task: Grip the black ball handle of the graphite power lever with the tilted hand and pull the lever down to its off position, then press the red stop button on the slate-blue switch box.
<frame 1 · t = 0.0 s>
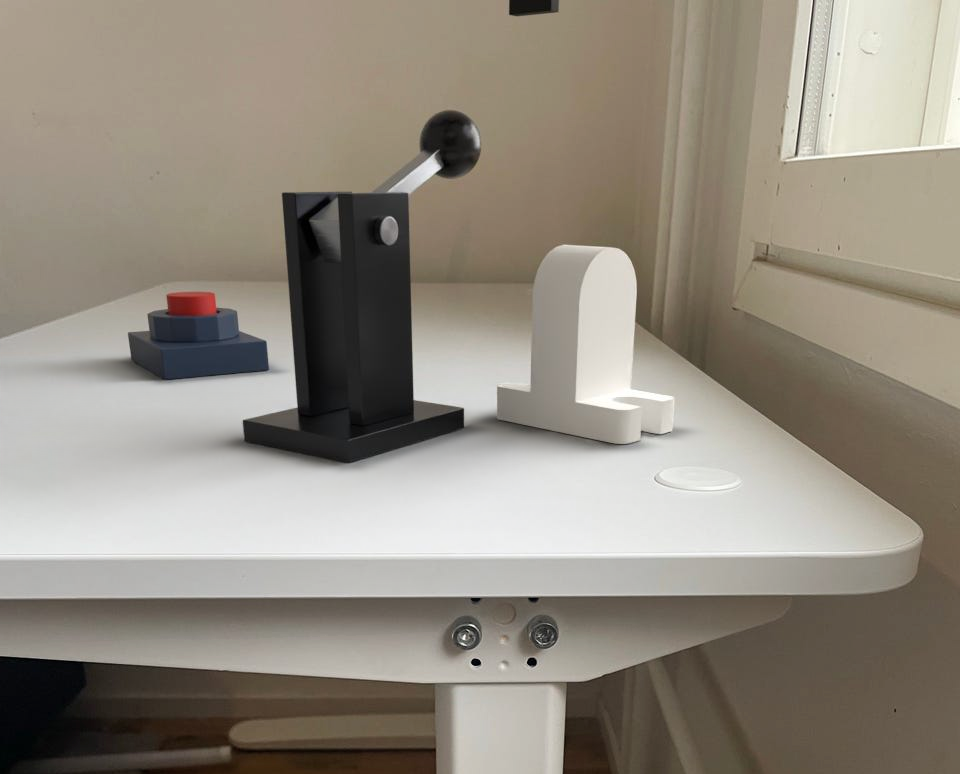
lever: (403, 183, 57), point 13 cm above the table, hinge at 25.0°
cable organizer: (582, 427, 61), on the table
stop button: (191, 305, 78), point 4 cm above the table, slide at 0.1 cm
switch box: (198, 365, 80), on the table
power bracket: (357, 434, 59), on the table
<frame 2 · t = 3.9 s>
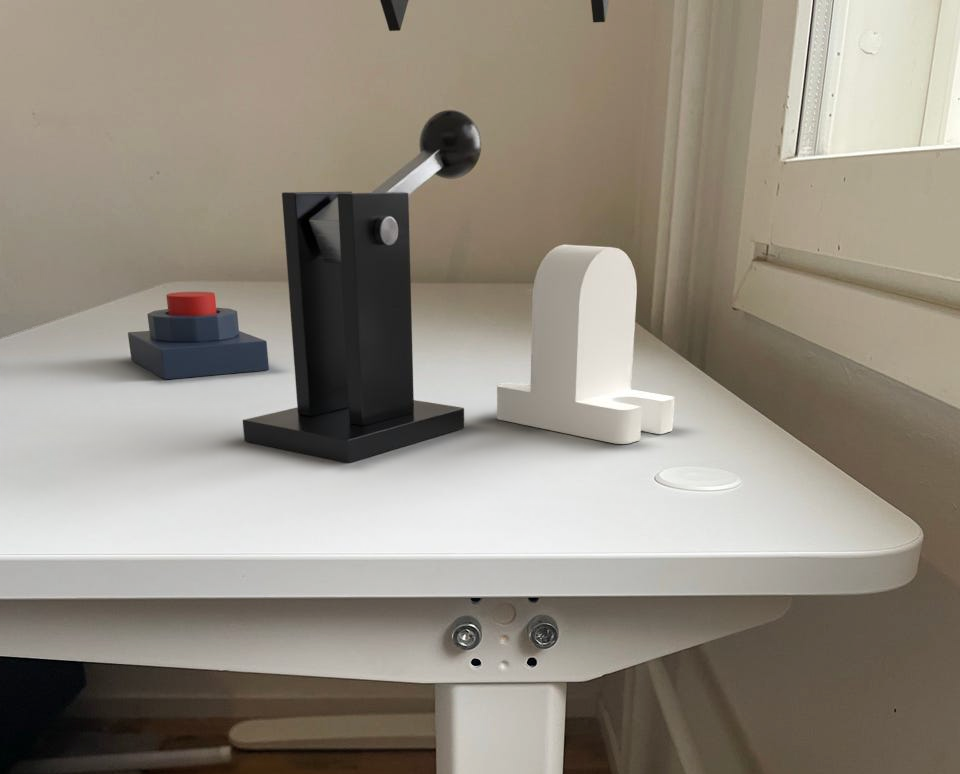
hand: (490, 7, 64), 23 cm above the table, tool tilted 45°, fingers open, 13 cm apart
nothing on the table moved.
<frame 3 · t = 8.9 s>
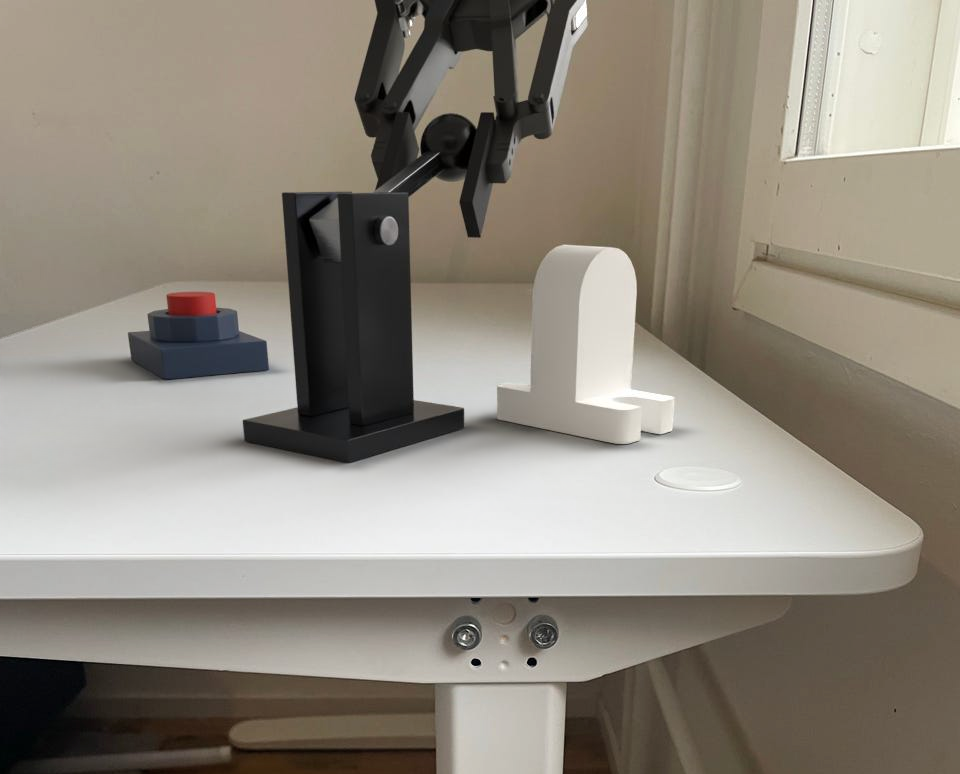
hand: (427, 218, 58), 11 cm above the table, tool tilted 45°, fingers closed on lever, 4 cm apart
lever: (403, 185, 57), point 13 cm above the table, hinge at 24.0°, touching gripper
everything else where it was.
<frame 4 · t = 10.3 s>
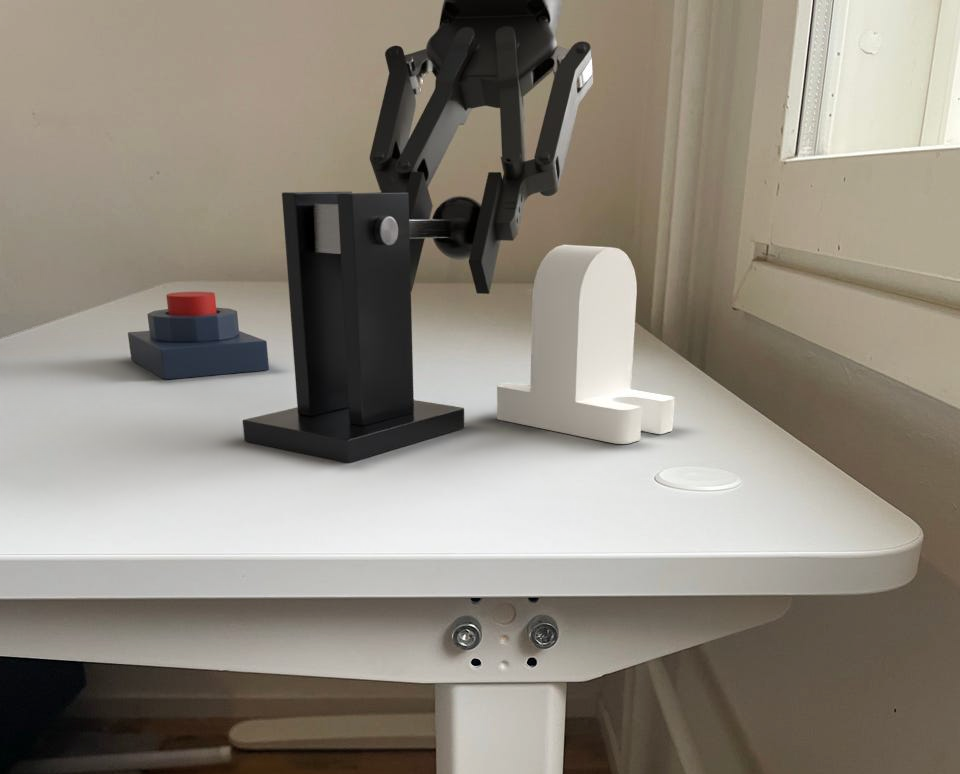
hand: (439, 276, 59), 8 cm above the table, tool tilted 45°, fingers open, 4 cm apart
lever: (409, 228, 58), point 11 cm above the table, hinge at -1.8°, touching gripper
everything else where it was.
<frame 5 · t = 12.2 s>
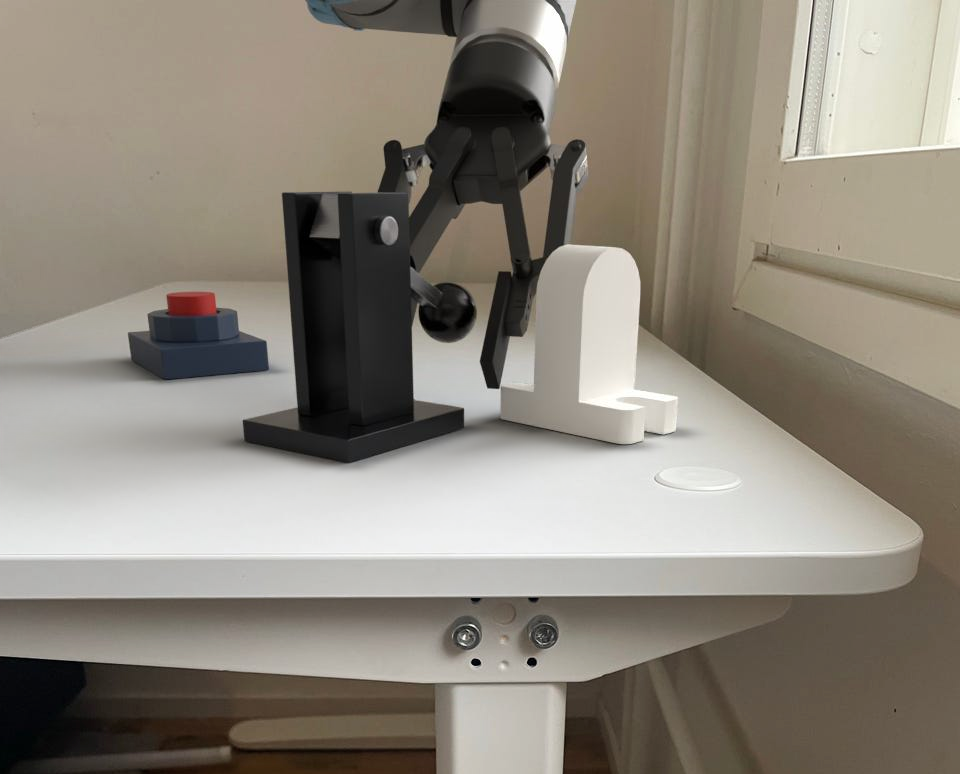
hand: (437, 372, 61), 3 cm above the table, tool tilted 45°, fingers open, 6 cm apart
lever: (403, 275, 59), point 8 cm above the table, hinge at -30.5°
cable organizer: (585, 427, 61), on the table, touching gripper
everything else where it was.
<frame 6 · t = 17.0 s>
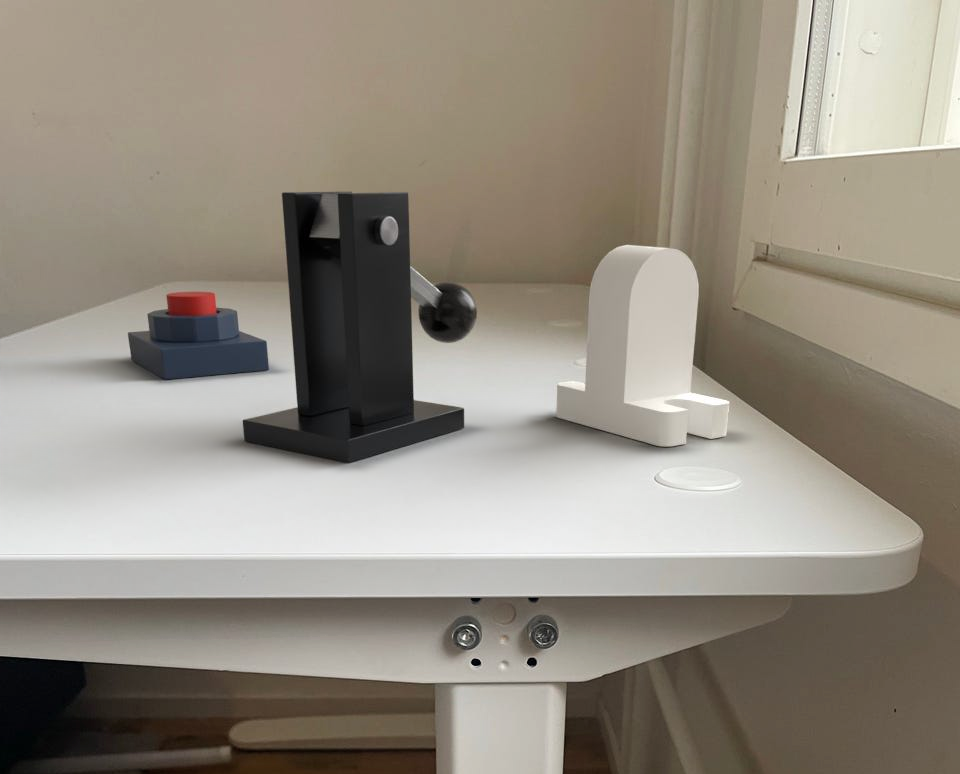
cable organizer: (637, 428, 61), on the table
everything else where it was.
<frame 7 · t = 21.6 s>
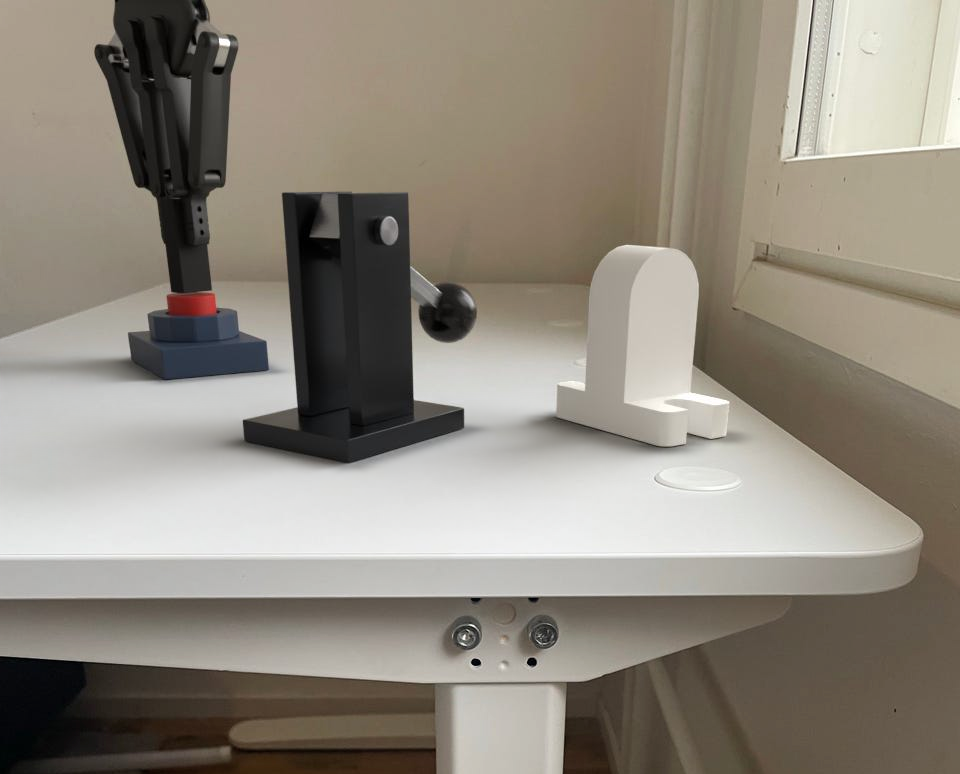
hand: (191, 291, 78), 6 cm above the table, tool pointing down, fingers closed
stop button: (192, 306, 78), point 4 cm above the table, slide at 0.0 cm, touching gripper
everything else where it was.
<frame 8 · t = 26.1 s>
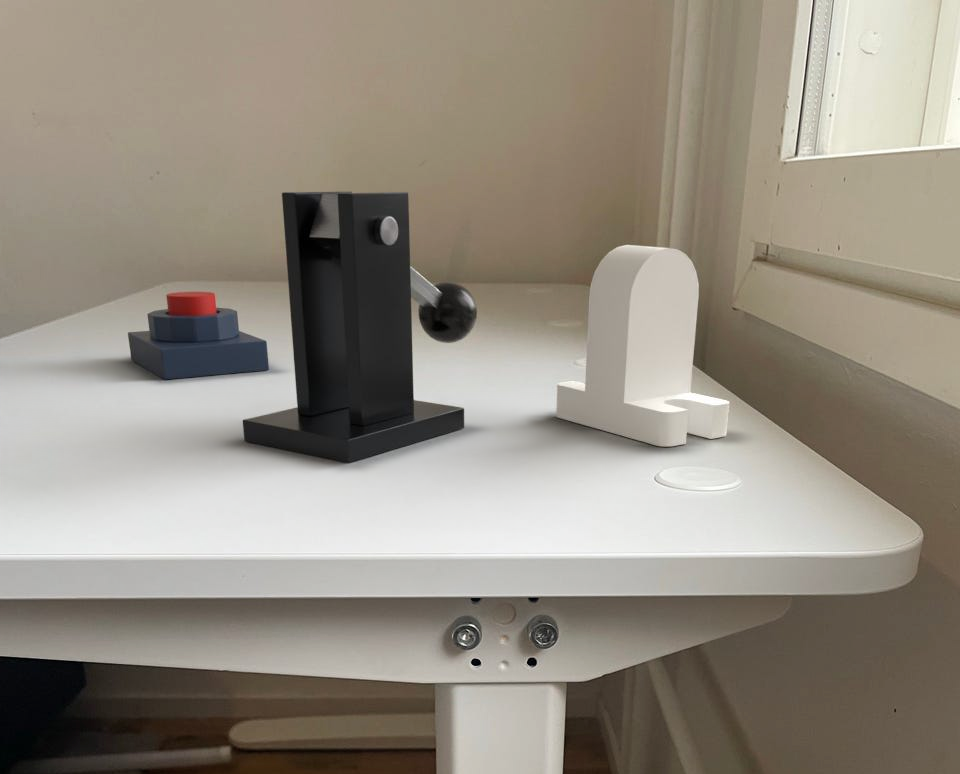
stop button: (191, 305, 78), point 4 cm above the table, slide at 0.1 cm
everything else where it was.
at the end: lever at -30° (first picture: +25°); stop button pushed in 1.0 cm at the most during the clip, back to where it started at the end; stop button slide at 0.1 cm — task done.
